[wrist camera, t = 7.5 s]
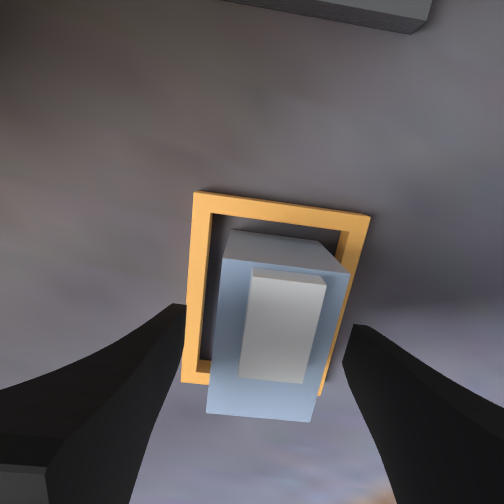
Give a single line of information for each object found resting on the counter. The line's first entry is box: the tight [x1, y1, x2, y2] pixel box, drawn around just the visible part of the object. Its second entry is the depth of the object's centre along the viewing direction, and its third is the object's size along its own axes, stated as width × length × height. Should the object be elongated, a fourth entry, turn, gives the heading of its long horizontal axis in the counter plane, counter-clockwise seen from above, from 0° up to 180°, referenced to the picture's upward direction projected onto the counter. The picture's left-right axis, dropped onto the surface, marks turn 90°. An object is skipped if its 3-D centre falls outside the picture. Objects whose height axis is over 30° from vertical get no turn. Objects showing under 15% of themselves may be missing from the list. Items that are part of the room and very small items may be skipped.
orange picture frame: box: [181, 191, 371, 396], centre depth 13 cm, size 8×11×1 cm
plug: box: [206, 230, 351, 422], centre depth 12 cm, size 4×7×5 cm, turn 172°
